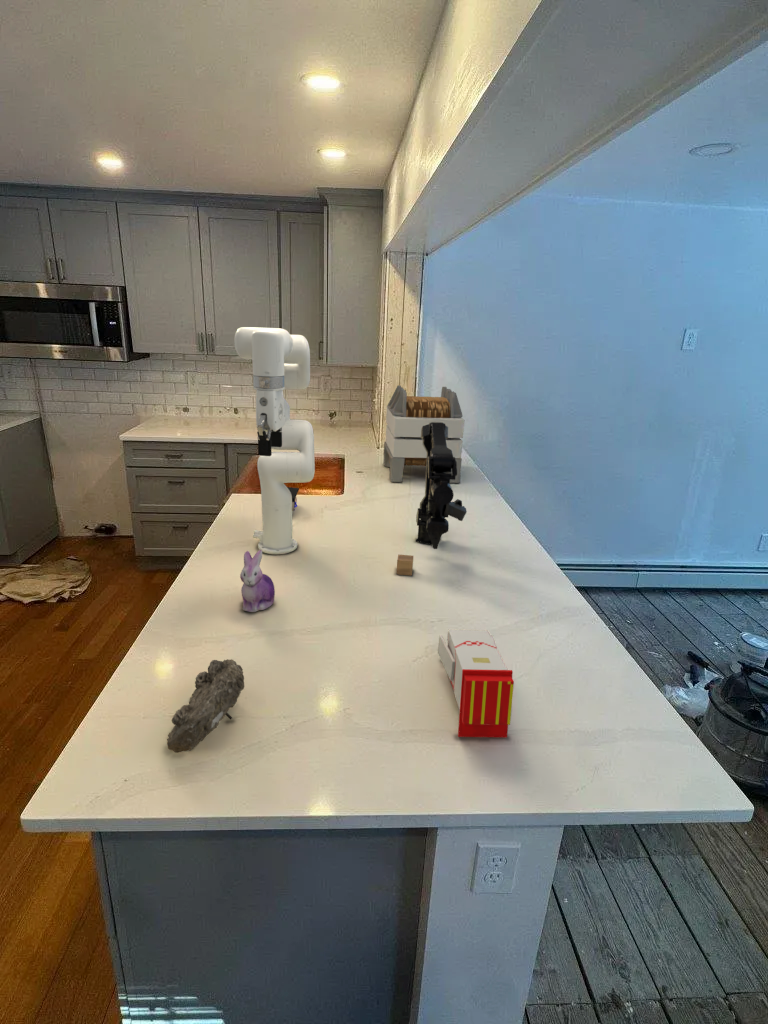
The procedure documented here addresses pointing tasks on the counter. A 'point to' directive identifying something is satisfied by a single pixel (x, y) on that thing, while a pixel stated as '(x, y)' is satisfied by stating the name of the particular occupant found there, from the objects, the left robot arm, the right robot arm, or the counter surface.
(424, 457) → the transformer
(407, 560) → the brown wooden cube
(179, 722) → the fossil
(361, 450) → the counter surface
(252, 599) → the figurine
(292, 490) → the figurine character
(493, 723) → the toy
